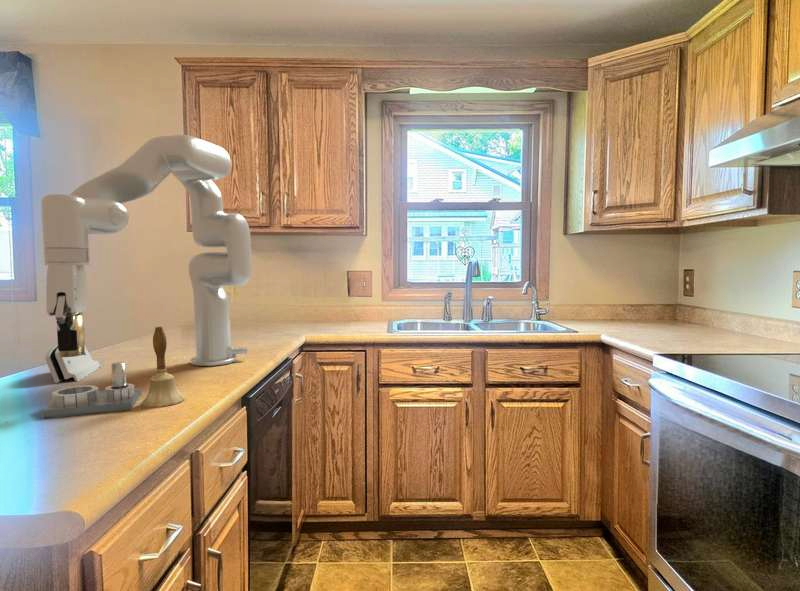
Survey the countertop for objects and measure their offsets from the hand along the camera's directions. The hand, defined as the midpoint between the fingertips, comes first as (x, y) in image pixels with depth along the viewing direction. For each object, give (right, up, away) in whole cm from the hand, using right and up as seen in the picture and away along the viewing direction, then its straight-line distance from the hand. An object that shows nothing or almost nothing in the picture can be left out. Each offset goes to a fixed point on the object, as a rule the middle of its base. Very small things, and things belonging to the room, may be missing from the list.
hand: (71, 347), depth 101 cm
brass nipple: (0, -2, 0) cm, 2 cm away
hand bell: (+16, -12, +5) cm, 21 cm away
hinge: (-19, -11, +30) cm, 37 cm away
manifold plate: (+3, -12, +2) cm, 13 cm away
